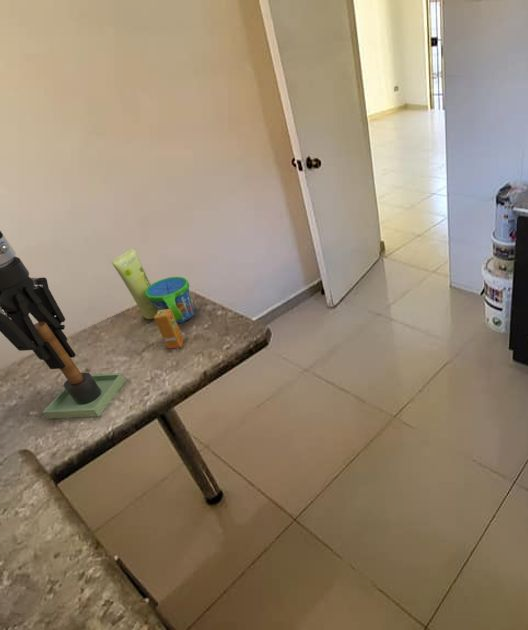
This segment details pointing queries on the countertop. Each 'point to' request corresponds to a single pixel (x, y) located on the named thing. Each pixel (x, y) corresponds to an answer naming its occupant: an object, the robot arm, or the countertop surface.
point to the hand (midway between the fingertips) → (63, 361)
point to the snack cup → (172, 297)
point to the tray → (70, 409)
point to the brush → (71, 370)
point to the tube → (135, 281)
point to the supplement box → (169, 328)
